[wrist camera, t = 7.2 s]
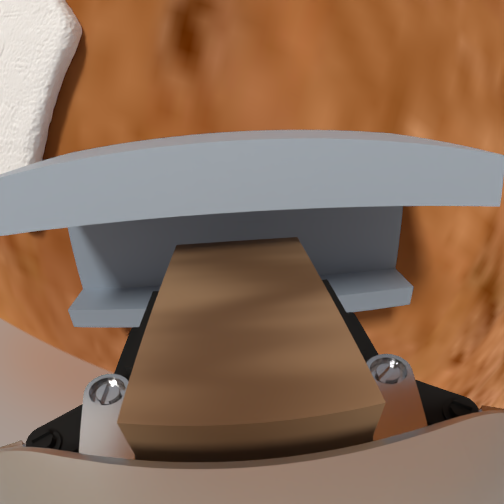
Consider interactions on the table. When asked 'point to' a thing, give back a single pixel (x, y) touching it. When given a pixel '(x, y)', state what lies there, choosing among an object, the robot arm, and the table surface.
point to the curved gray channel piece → (242, 206)
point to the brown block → (246, 361)
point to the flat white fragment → (32, 74)
